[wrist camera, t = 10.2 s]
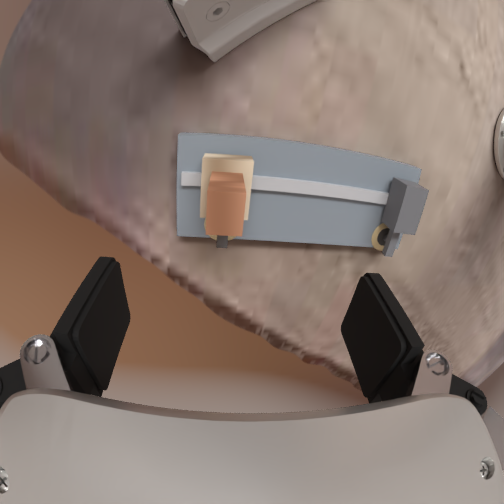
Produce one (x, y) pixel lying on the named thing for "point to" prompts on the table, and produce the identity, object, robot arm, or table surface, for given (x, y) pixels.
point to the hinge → (227, 21)
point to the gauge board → (307, 192)
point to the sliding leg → (225, 194)
